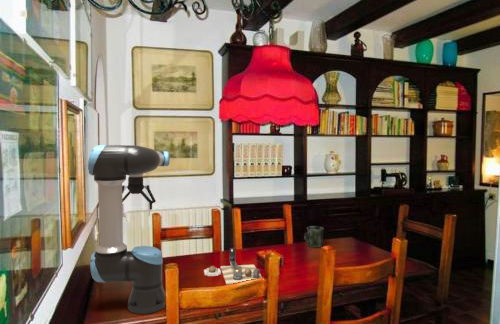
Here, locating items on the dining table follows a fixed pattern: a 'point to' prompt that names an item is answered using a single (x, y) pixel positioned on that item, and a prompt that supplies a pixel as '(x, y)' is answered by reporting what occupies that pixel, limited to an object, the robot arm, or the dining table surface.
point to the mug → (314, 236)
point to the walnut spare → (212, 269)
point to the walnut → (248, 272)
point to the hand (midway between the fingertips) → (135, 216)
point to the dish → (212, 273)
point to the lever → (233, 263)
